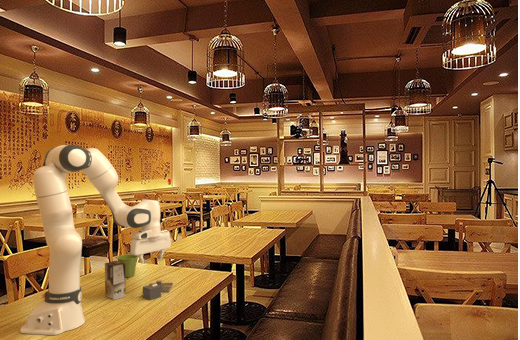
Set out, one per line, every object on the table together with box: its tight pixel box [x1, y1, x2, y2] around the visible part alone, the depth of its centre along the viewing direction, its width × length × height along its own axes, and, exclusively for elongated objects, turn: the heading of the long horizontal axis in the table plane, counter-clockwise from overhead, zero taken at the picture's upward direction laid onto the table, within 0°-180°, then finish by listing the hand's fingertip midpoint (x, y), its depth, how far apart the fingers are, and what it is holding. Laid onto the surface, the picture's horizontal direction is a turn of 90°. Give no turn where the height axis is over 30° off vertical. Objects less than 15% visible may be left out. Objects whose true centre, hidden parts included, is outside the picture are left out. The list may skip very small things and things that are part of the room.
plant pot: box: [116, 253, 139, 279], centre depth 213 cm, size 12×12×11 cm
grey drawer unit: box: [142, 284, 162, 301], centre depth 180 cm, size 6×6×6 cm
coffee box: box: [104, 260, 127, 301], centre depth 182 cm, size 9×6×16 cm
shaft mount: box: [148, 279, 174, 294], centre depth 192 cm, size 12×12×4 cm
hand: (151, 261), depth 180 cm, fingers open, 8 cm apart
